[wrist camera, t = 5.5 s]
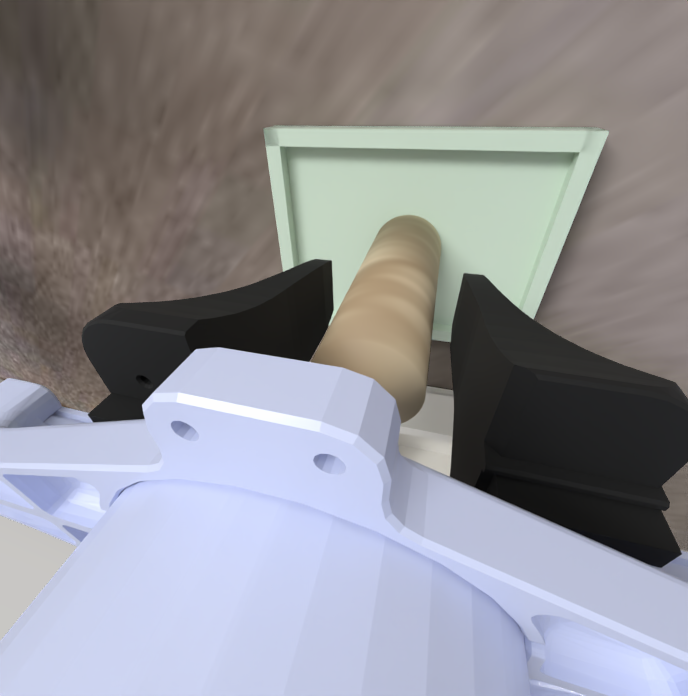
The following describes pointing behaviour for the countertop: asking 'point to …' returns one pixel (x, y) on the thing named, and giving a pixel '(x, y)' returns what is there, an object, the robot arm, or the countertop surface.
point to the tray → (433, 199)
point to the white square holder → (430, 431)
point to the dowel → (390, 313)
